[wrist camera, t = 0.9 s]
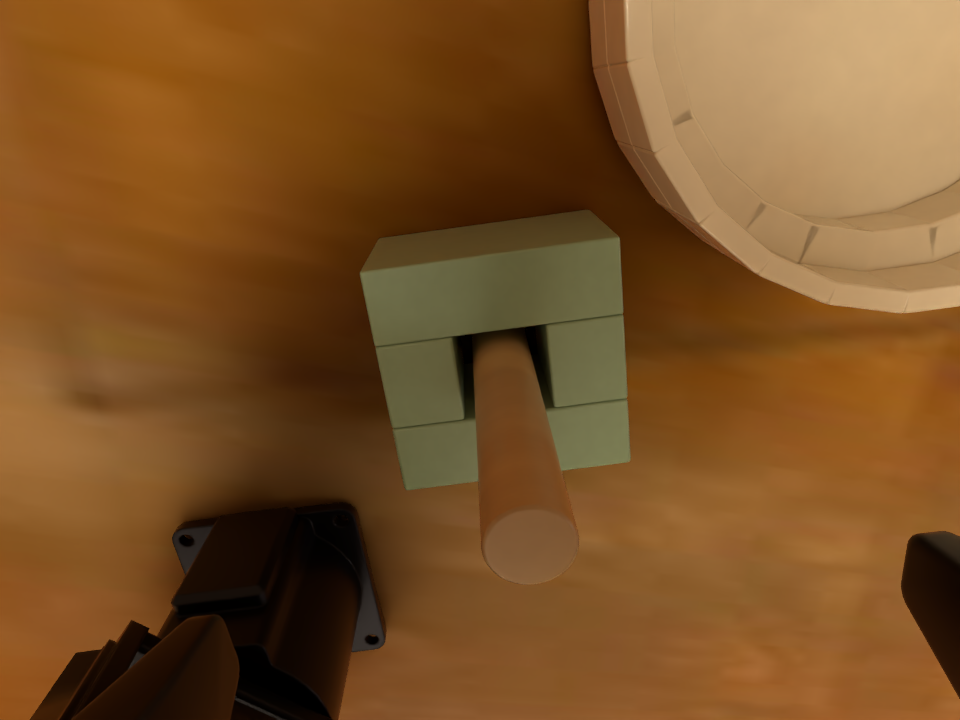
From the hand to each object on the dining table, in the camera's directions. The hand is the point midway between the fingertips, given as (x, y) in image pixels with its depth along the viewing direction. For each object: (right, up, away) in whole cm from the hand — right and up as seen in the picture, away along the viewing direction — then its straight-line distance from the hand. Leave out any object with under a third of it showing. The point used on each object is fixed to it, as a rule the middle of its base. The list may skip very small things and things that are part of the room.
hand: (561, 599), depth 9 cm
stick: (-1, +4, +12) cm, 13 cm away
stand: (-1, +4, +12) cm, 13 cm away
